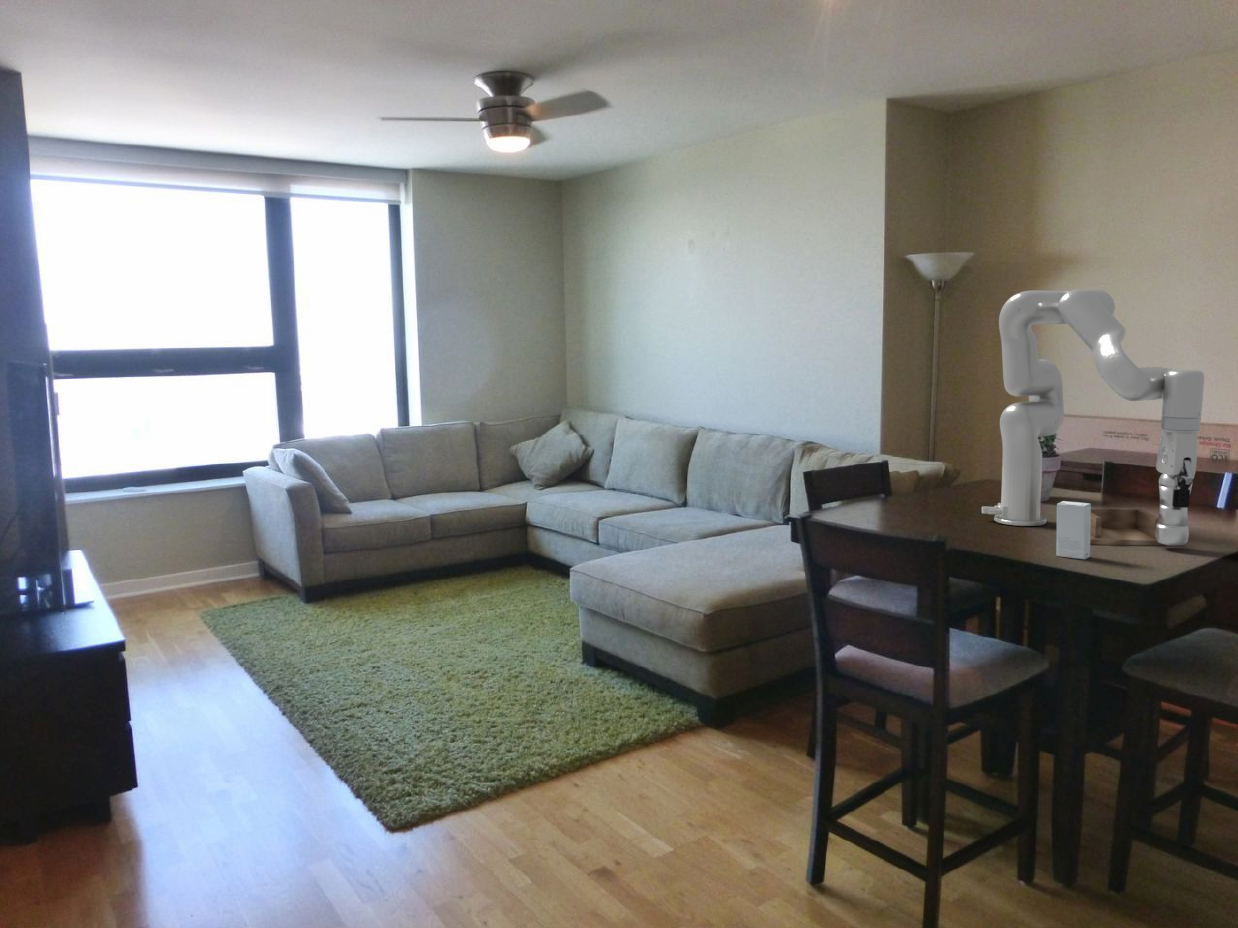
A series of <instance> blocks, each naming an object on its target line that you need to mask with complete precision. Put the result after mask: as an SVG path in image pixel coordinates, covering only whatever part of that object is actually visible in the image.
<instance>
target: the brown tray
mask: <svg viewBox="0 0 1238 928" xmlns="http://www.w3.org/2000/svg"><path fill="white" fill-rule="evenodd" d="M1158 517H1159V516H1156V515H1155V514H1152V513H1150V512H1147V511H1146V510H1143V509H1142V508H1119V507H1118V508H1110V507H1108V508H1103V507H1101V508H1099V507H1091V525H1090V545H1097V546H1098V545H1101V546H1102V545H1103V546H1105V545H1106V546H1108V545H1109V546H1110V545H1112V546H1113V545H1114V546H1156V547H1157V546H1159V547H1163V546H1165V547H1166V546H1167V547H1170V546H1169V545H1165V544H1162V543H1159V542H1157V540H1156V538H1155V529H1156V525H1157V523H1158Z"/></svg>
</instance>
